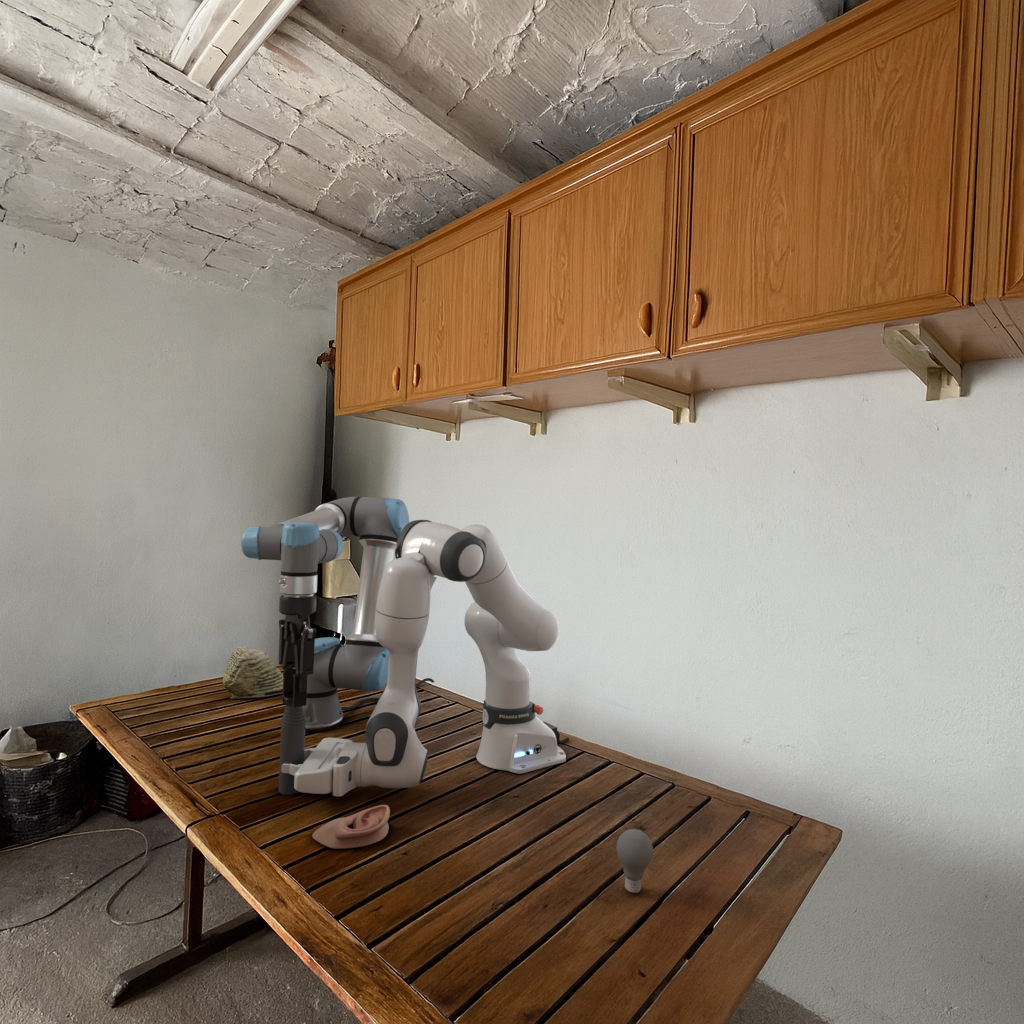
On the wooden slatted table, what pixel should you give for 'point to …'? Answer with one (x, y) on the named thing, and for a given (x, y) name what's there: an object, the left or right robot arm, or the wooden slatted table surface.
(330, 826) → the anatomical model
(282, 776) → the bottle
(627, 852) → the light bulb
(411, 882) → the wooden slatted table surface
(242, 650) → the fossil
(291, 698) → the cap
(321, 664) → the left robot arm
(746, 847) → the wooden slatted table surface
